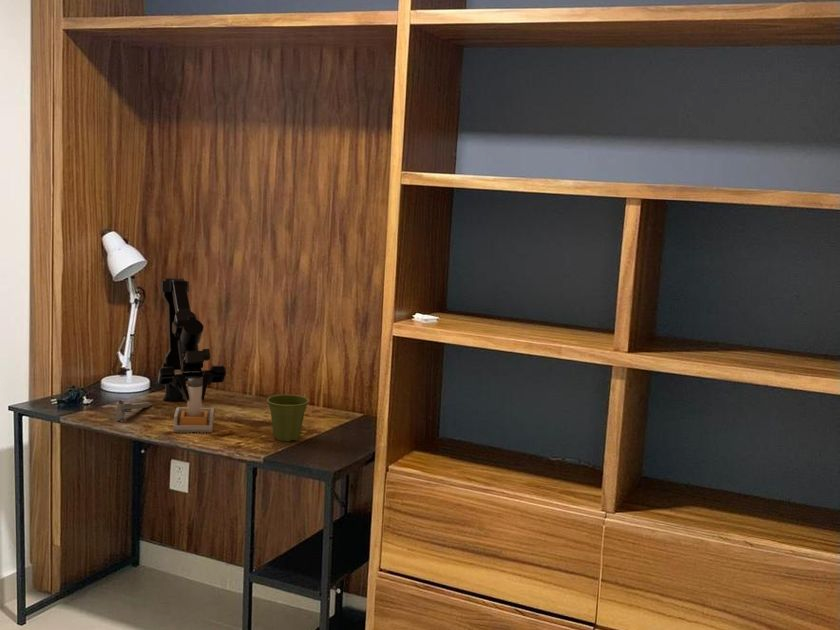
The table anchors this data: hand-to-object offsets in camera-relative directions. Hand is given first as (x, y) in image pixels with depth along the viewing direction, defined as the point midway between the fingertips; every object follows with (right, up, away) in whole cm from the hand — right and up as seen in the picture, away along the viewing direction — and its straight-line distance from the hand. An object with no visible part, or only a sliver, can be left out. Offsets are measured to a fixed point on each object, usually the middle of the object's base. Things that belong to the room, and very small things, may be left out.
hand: (195, 399), depth 243 cm
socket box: (-1, -8, +2) cm, 9 cm away
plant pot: (+26, -11, -2) cm, 28 cm away
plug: (-1, -6, +2) cm, 7 cm away
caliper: (-22, -6, +14) cm, 26 cm away
